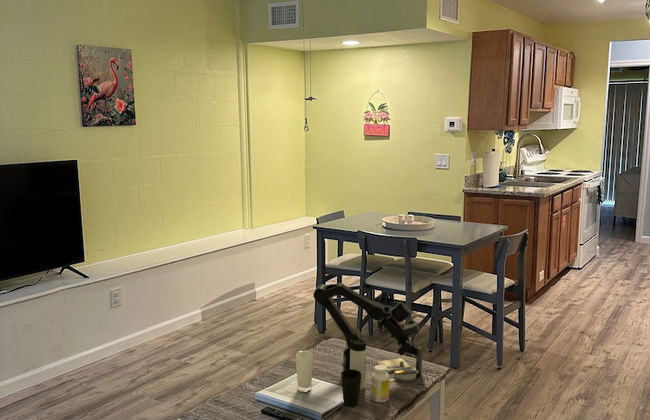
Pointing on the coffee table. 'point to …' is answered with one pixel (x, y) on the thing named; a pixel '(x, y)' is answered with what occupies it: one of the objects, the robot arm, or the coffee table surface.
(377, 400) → the supplement bottle
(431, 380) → the coffee table surface
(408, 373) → the grey piece
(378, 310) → the robot arm
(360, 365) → the travel mug
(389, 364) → the stand
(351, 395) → the cup
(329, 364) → the coffee table surface
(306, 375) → the drinking glass
